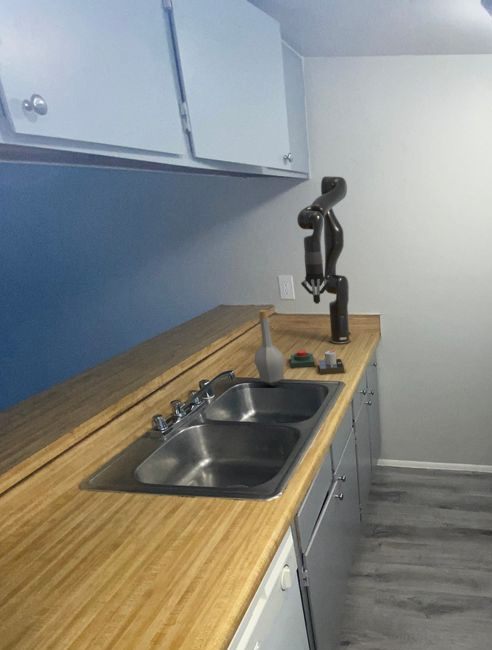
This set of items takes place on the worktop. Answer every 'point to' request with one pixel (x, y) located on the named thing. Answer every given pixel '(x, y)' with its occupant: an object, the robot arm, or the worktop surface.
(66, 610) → the worktop surface
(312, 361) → the dark green button base
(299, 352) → the nozzle button
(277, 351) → the bottle
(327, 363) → the dial
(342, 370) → the dial panel
